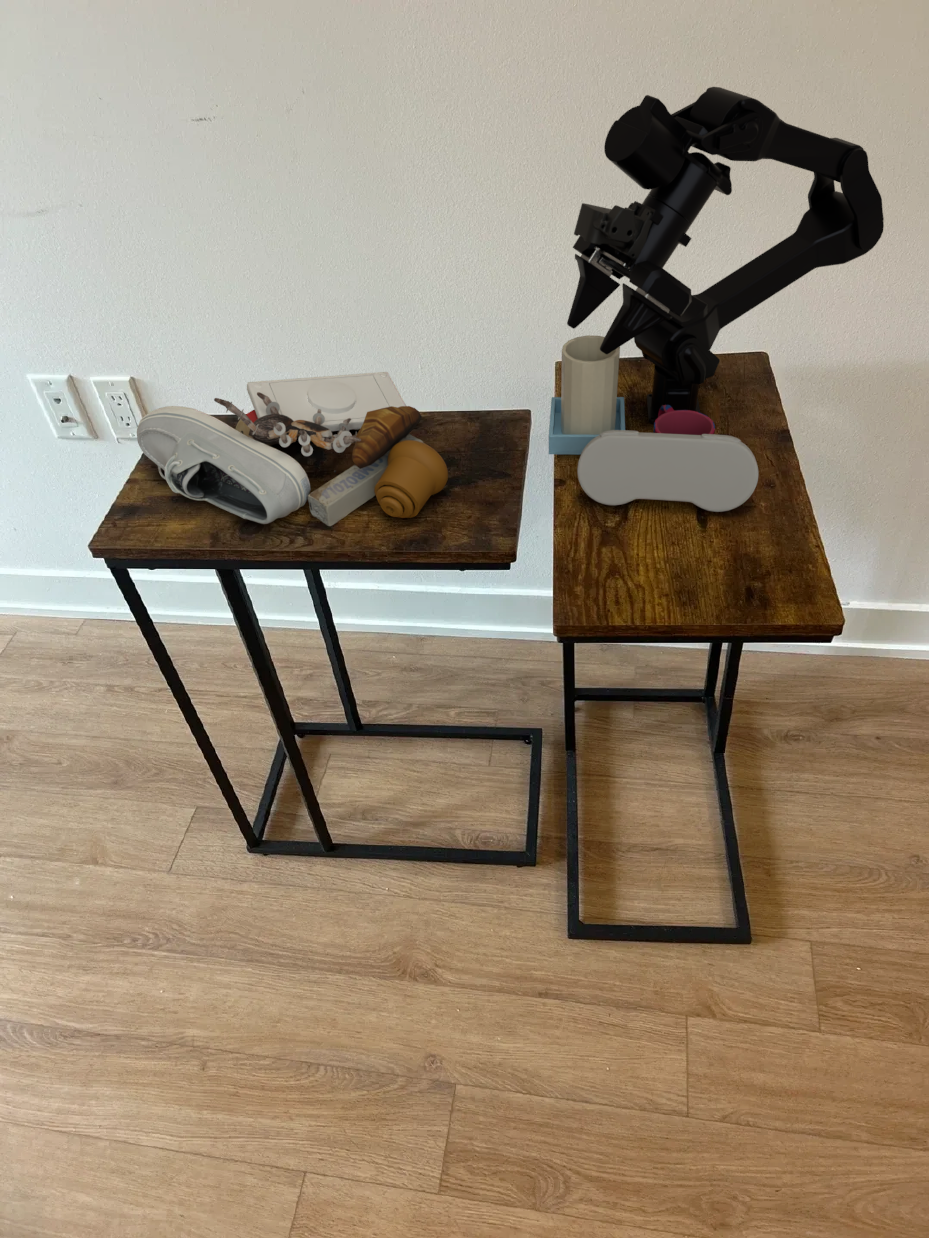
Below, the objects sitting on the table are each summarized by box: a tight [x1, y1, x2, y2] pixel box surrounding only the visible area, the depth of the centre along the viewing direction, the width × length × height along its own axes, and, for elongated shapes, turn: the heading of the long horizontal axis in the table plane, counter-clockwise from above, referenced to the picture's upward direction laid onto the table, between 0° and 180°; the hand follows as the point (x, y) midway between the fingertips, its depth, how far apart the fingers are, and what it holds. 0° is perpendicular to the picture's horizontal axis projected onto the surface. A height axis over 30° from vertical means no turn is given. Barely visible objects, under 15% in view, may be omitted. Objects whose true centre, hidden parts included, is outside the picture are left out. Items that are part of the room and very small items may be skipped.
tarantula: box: [213, 392, 361, 457], centre depth 105 cm, size 16×18×5 cm
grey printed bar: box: [307, 433, 424, 527], centre depth 105 cm, size 4×16×5 cm
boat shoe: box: [136, 405, 311, 525], centre depth 104 cm, size 25×9×8 cm
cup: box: [652, 405, 716, 435], centre depth 103 cm, size 7×10×7 cm
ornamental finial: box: [374, 440, 449, 519], centre depth 101 cm, size 8×8×8 cm
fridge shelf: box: [548, 396, 626, 455], centre depth 111 cm, size 9×9×3 cm
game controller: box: [576, 429, 759, 513], centre depth 98 cm, size 20×2×8 cm, turn 79°
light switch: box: [246, 371, 407, 432], centre depth 115 cm, size 11×2×19 cm
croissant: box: [351, 405, 422, 469], centre depth 103 cm, size 14×7×5 cm
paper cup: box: [560, 334, 621, 435], centre depth 107 cm, size 7×7×11 cm
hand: (586, 339), depth 101 cm, fingers open, 9 cm apart
